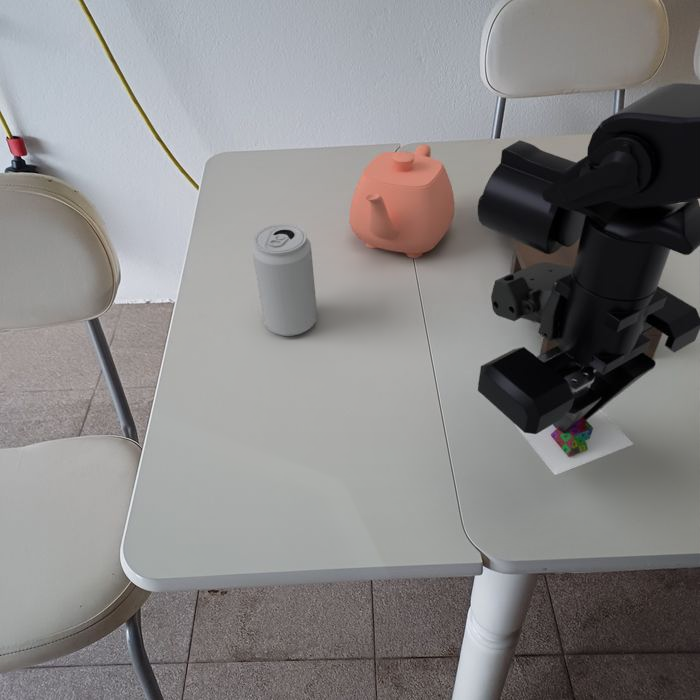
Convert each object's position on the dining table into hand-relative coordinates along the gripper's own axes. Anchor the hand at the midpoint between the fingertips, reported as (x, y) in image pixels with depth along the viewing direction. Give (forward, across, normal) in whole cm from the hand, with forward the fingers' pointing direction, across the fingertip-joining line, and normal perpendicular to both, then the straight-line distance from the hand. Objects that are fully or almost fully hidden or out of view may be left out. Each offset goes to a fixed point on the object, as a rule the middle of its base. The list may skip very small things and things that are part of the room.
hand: (571, 422), depth 56 cm
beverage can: (+6, +10, -33) cm, 35 cm away
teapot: (+6, -10, -40) cm, 42 cm away
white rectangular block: (+1, 0, 0) cm, 1 cm away
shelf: (+6, -22, -22) cm, 32 cm away
